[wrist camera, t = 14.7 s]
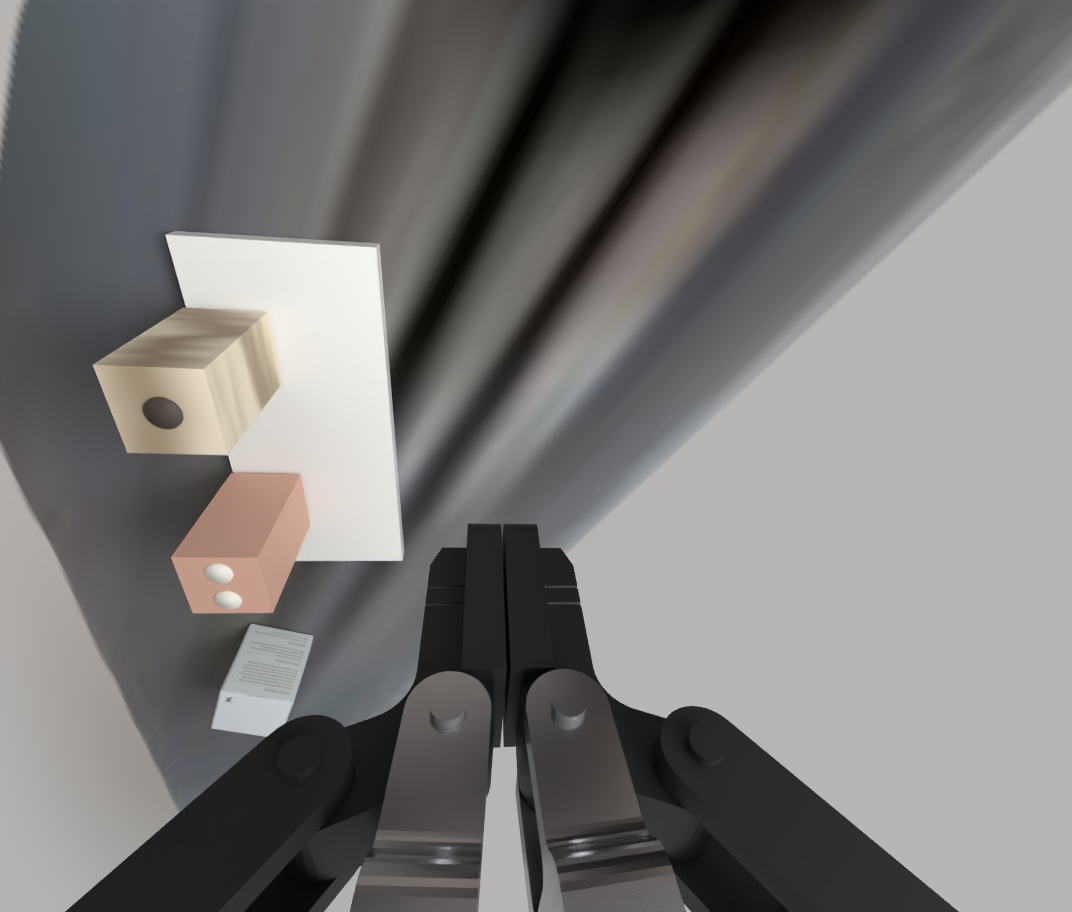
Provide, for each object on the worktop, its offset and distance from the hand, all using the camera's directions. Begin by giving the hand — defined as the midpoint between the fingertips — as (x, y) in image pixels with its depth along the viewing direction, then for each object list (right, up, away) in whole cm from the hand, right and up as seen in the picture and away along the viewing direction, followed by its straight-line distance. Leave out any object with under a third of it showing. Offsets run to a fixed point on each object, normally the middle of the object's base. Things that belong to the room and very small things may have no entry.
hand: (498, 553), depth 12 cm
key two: (-20, -1, +29) cm, 35 cm away
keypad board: (-16, +5, +28) cm, 32 cm away
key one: (-19, +9, +23) cm, 31 cm away
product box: (-25, -17, +41) cm, 51 cm away
